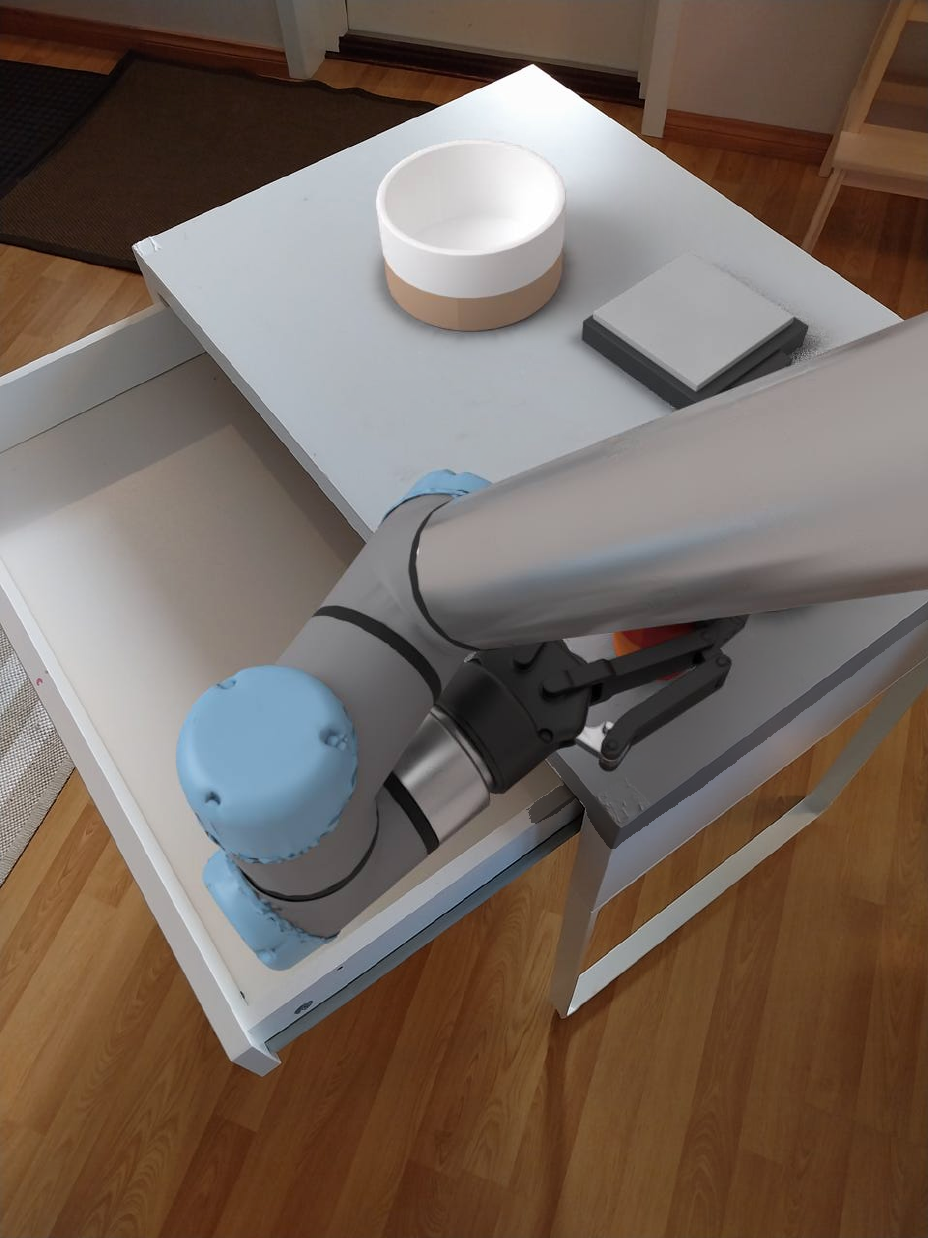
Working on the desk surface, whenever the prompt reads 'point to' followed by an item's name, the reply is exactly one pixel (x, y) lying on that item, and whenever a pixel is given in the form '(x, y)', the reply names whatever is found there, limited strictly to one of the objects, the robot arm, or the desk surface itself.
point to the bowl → (472, 233)
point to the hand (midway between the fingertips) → (722, 536)
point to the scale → (693, 332)
